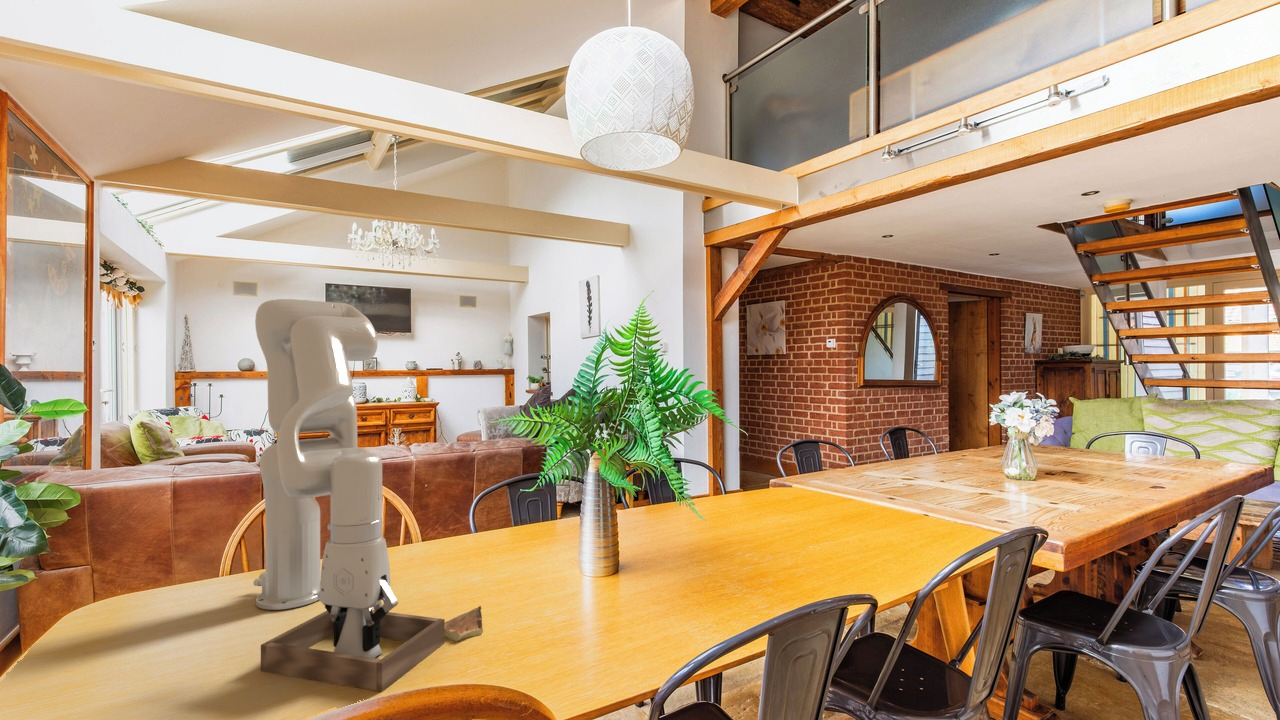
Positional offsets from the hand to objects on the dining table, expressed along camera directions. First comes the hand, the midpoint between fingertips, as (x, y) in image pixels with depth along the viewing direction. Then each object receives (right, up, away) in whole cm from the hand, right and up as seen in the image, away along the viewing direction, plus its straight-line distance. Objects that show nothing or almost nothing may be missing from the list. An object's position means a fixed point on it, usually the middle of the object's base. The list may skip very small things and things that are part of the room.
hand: (357, 644), depth 93 cm
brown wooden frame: (0, -2, 0) cm, 2 cm away
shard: (+13, -3, +10) cm, 17 cm away
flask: (0, -2, 0) cm, 2 cm away
